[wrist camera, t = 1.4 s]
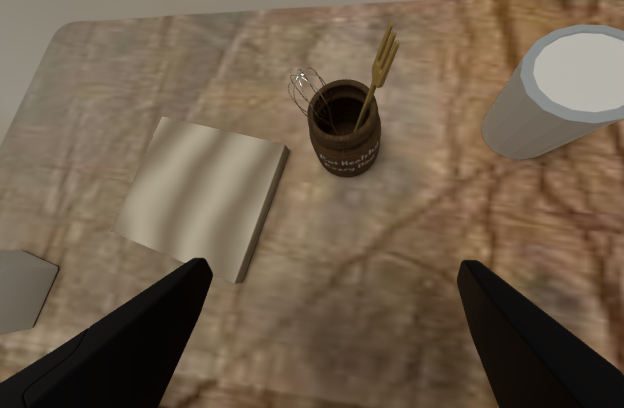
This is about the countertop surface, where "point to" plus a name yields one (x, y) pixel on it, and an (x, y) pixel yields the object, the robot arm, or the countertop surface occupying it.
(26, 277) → the medicine bottle
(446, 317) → the countertop surface
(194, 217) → the ash cloth
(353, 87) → the utensil holder
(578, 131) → the white cup
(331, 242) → the countertop surface
